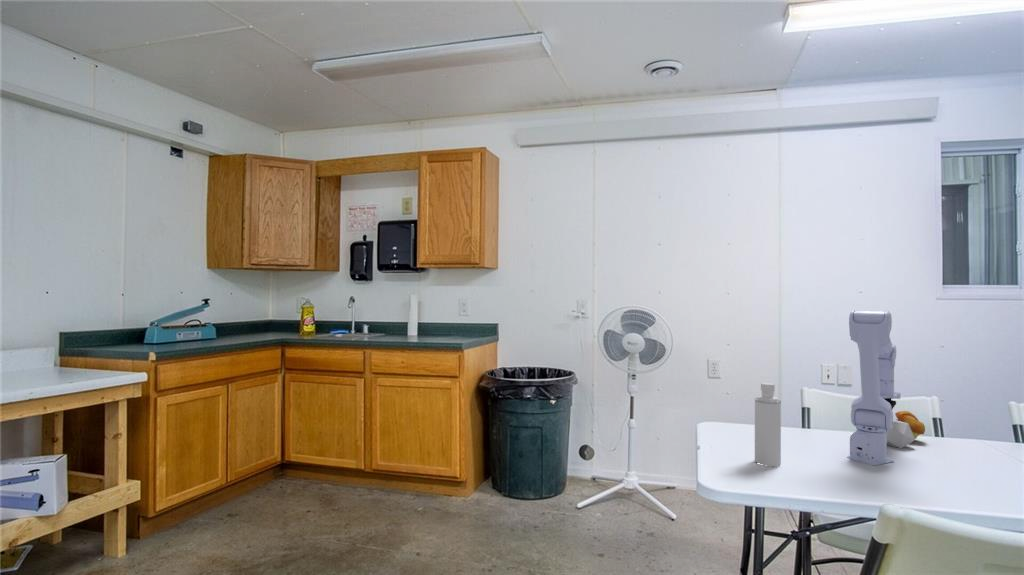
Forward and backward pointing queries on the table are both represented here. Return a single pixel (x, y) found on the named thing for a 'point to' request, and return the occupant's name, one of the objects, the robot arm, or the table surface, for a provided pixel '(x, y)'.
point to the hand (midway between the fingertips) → (883, 422)
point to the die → (900, 434)
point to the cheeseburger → (911, 422)
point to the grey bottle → (768, 427)
